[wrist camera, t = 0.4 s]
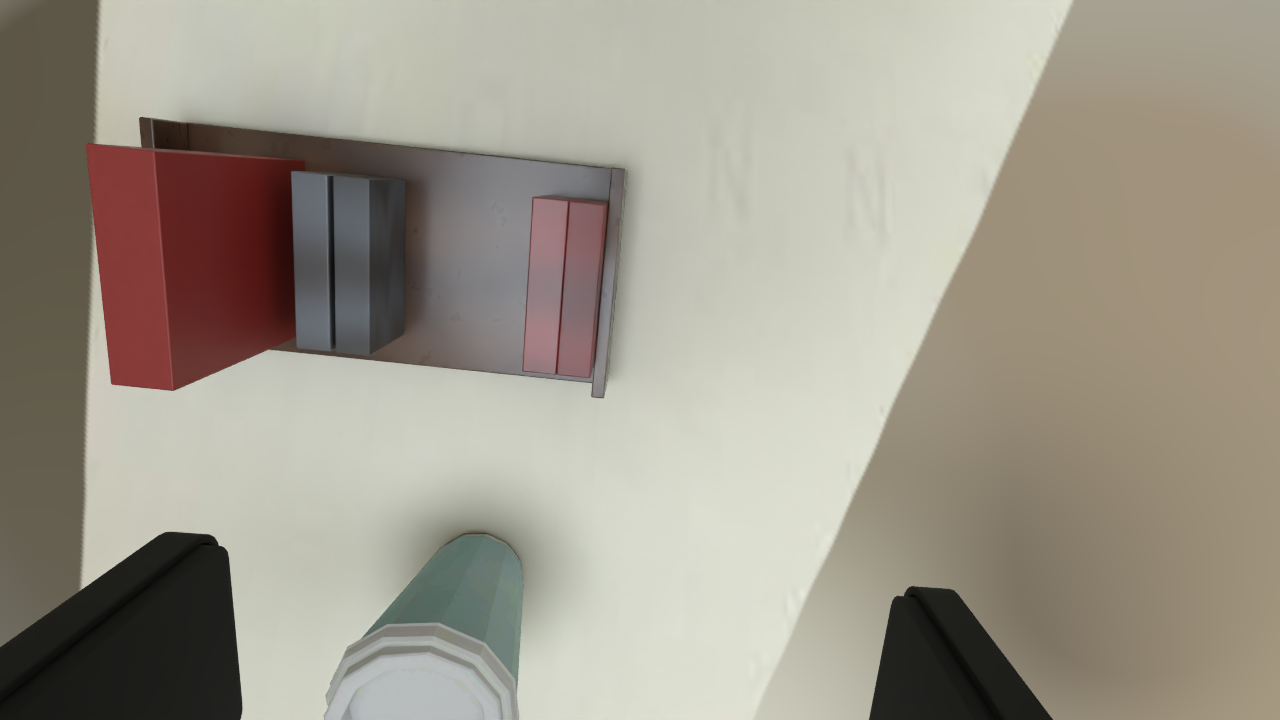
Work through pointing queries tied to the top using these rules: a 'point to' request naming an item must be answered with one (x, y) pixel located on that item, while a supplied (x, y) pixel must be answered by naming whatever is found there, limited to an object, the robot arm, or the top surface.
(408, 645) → the disposable coffee cup
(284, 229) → the red book
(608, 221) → the book rack
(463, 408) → the top surface
